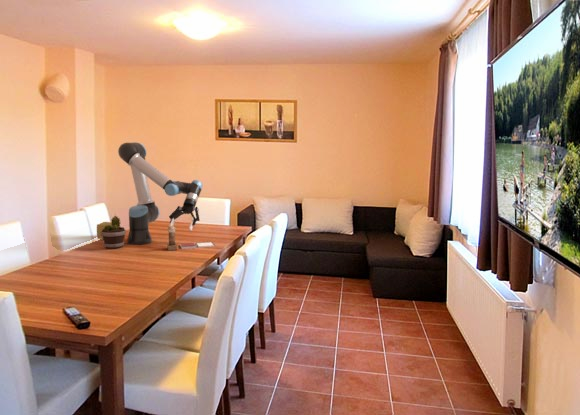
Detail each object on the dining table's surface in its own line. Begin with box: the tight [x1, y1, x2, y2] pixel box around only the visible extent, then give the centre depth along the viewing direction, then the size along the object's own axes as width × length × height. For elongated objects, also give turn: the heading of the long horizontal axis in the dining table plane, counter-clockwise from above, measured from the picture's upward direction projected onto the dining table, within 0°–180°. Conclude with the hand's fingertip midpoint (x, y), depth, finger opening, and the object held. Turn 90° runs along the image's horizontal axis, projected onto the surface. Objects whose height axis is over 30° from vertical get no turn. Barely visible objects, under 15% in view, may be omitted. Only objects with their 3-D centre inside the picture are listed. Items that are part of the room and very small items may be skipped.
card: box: [194, 241, 216, 248], centre depth 283 cm, size 11×11×1 cm
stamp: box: [166, 225, 178, 252], centre depth 270 cm, size 7×5×15 cm
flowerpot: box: [100, 214, 127, 250], centre depth 272 cm, size 14×15×20 cm
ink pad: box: [179, 242, 197, 250], centre depth 278 cm, size 9×9×2 cm
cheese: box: [96, 221, 113, 240], centre depth 299 cm, size 10×11×10 cm
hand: (180, 228), depth 275 cm, fingers open, 13 cm apart
